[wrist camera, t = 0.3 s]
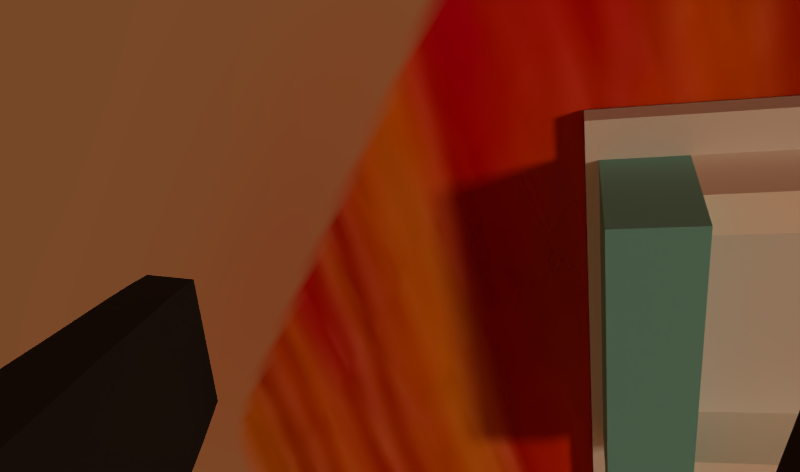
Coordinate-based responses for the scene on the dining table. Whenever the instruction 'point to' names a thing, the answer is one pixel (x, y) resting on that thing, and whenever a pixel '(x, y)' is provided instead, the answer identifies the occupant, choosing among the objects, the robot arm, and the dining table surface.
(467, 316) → the dining table surface
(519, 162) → the dining table surface
